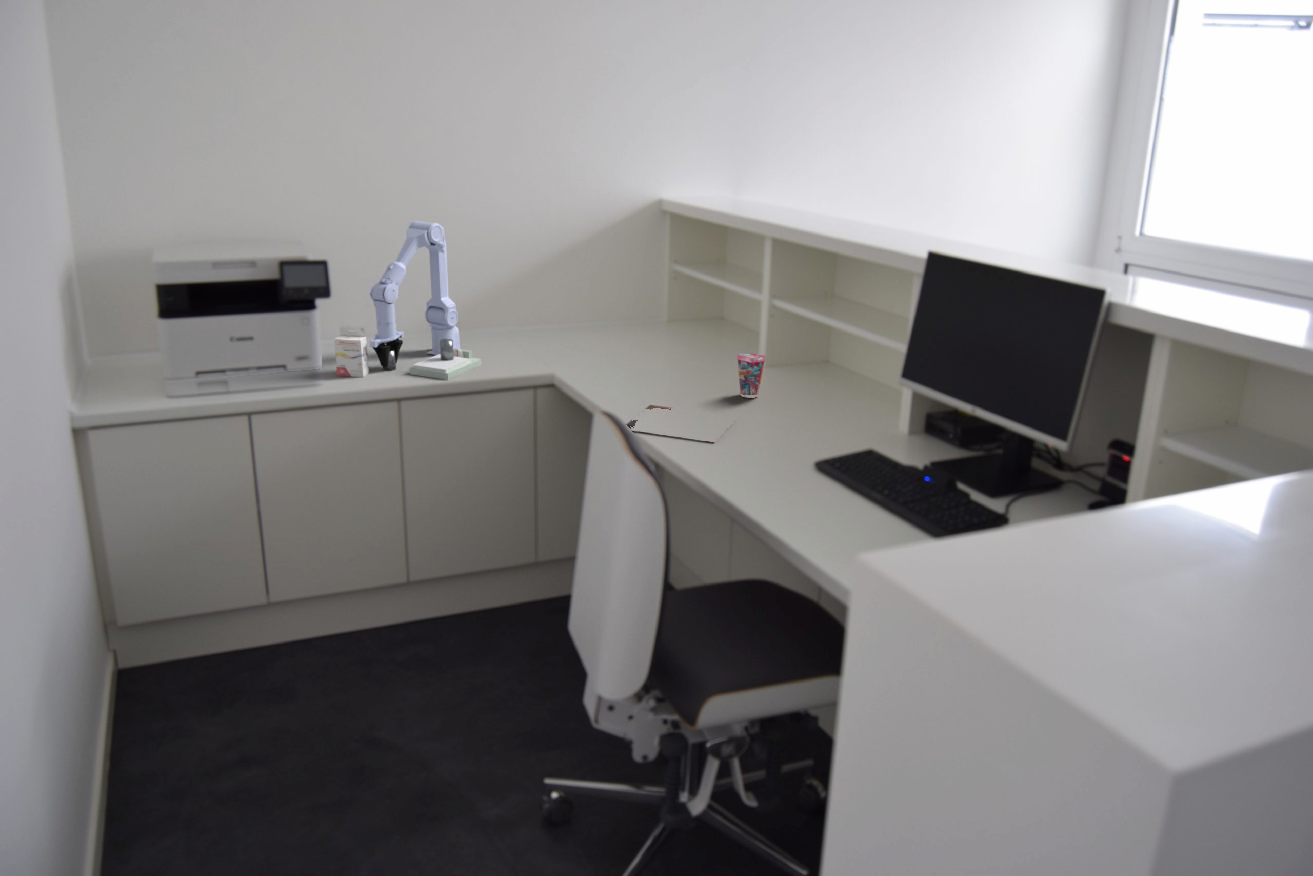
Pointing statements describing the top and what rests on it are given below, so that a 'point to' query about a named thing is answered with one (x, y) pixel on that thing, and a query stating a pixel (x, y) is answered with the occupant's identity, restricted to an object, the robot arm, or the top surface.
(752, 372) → the cup
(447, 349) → the cylinder
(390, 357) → the cylinder
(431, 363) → the scale
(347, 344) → the ink cartridge box
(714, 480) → the top surface
